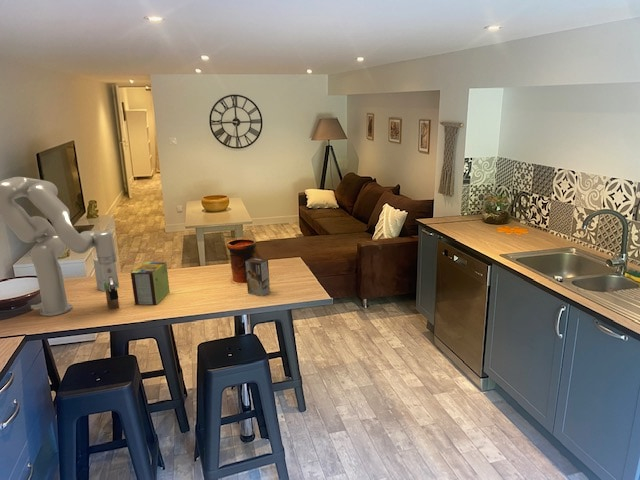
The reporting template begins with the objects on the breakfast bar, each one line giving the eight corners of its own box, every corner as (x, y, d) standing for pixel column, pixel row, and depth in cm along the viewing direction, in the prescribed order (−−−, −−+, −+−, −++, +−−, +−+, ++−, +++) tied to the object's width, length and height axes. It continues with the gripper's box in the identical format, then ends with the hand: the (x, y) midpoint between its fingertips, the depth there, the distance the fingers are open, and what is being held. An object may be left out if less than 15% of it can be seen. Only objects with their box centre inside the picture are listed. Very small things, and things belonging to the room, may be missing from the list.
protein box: (170, 292, 229) (166, 261, 225) (156, 305, 214) (152, 272, 210) (149, 292, 230) (145, 261, 226) (134, 304, 215) (129, 272, 211)
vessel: (225, 277, 247) (223, 240, 242) (252, 273, 253) (250, 237, 248) (232, 286, 235) (231, 247, 229) (260, 282, 241) (259, 243, 235)
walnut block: (108, 309, 210) (105, 292, 208) (107, 306, 214) (105, 289, 212) (119, 307, 212) (116, 291, 210) (118, 304, 216) (116, 287, 214)
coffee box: (270, 291, 227) (269, 259, 222) (263, 296, 221) (261, 263, 217) (254, 288, 231) (252, 257, 227) (246, 293, 226) (244, 261, 221)
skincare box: (103, 292, 231) (99, 261, 227) (96, 289, 235) (91, 259, 231) (119, 286, 238) (115, 256, 233) (112, 284, 241) (108, 254, 237)
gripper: (117, 262, 201) (124, 300, 206) (115, 252, 216) (121, 287, 221) (98, 266, 198) (105, 304, 203) (97, 255, 213) (104, 291, 218)
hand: (114, 295), depth 212 cm, fingers open, 9 cm apart
